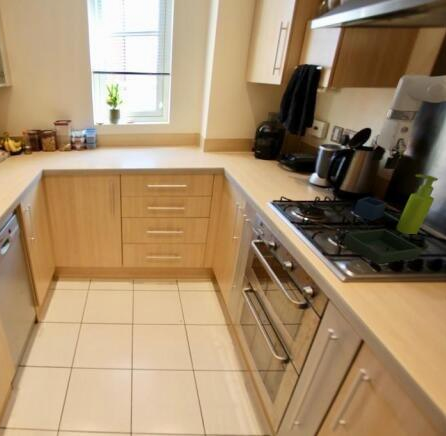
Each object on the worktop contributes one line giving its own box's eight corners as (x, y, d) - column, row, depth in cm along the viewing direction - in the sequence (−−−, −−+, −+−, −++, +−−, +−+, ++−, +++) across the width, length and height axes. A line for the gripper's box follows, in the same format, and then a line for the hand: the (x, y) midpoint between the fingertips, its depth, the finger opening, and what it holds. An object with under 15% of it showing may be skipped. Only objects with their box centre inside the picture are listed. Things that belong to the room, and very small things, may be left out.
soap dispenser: (399, 223, 115) (422, 172, 106) (421, 232, 110) (448, 178, 100) (388, 227, 113) (411, 174, 104) (410, 236, 108) (437, 181, 98)
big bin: (379, 240, 106) (384, 228, 104) (416, 261, 95) (422, 249, 93) (341, 245, 104) (346, 233, 102) (375, 267, 93) (380, 255, 91)
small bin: (363, 210, 125) (368, 196, 122) (381, 217, 120) (387, 203, 117) (352, 213, 123) (357, 200, 120) (370, 221, 118) (376, 206, 115)
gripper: (430, 120, 97) (407, 173, 105) (399, 110, 112) (381, 157, 120) (402, 120, 99) (382, 171, 107) (375, 110, 114) (359, 156, 122)
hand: (382, 164), depth 113 cm, fingers open, 9 cm apart
